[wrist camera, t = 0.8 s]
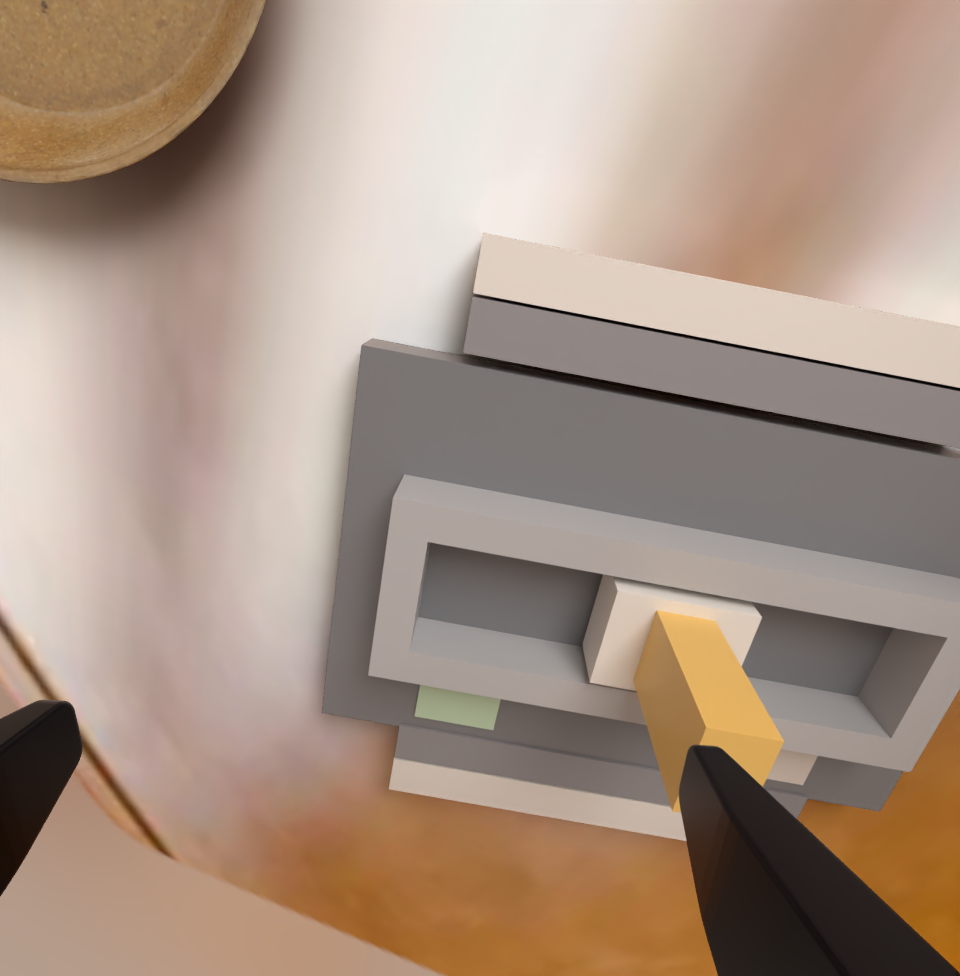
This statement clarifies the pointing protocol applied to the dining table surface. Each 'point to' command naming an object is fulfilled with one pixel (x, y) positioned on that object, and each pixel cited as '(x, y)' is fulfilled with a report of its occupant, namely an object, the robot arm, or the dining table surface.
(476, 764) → the light gray block
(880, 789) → the breaker panel
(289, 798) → the dining table surface
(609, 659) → the breaker lever
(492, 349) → the cream-topped gray bar
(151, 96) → the plant saucer
